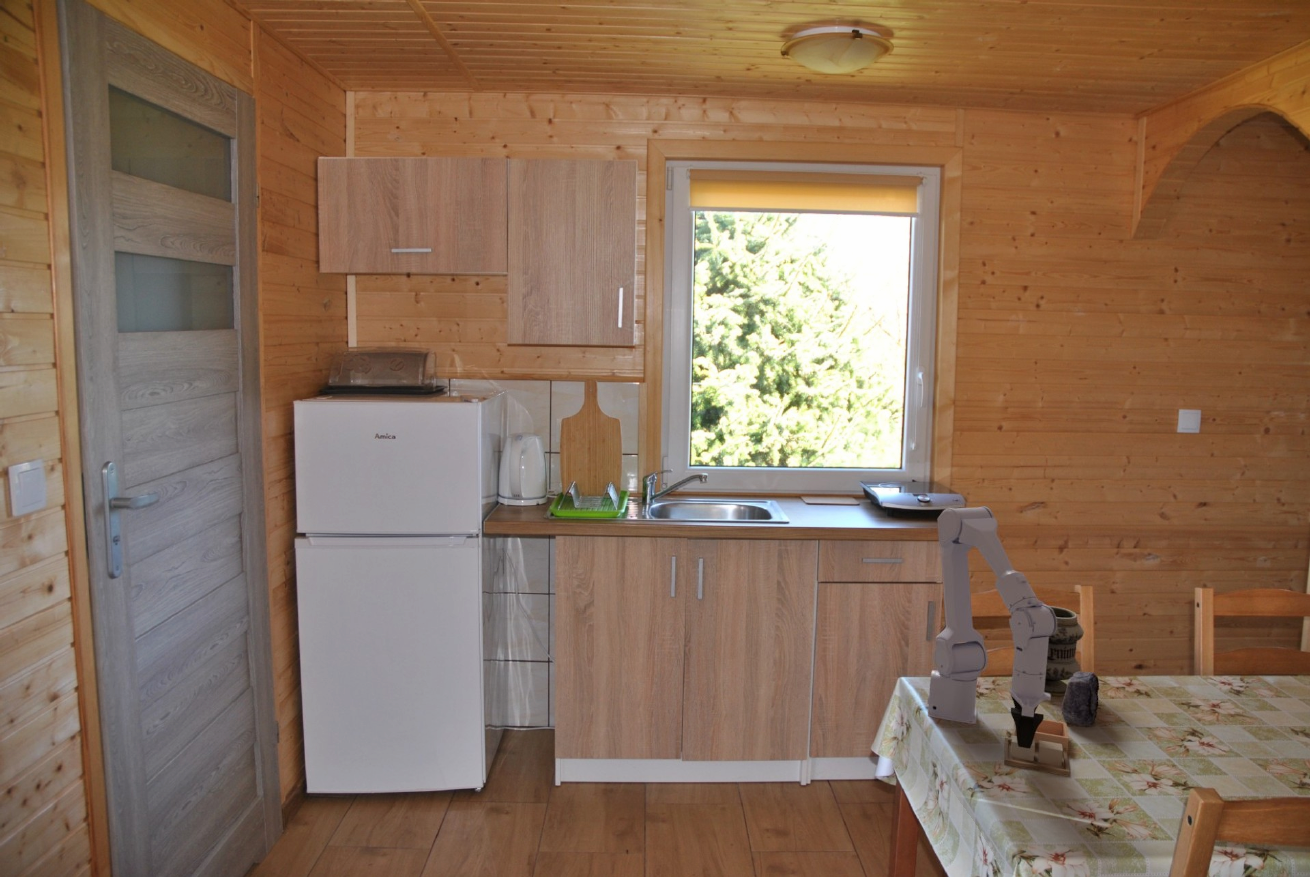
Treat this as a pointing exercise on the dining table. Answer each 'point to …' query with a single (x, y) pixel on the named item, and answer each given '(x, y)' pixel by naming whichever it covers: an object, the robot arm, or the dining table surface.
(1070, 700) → the rock
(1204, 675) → the dining table surface
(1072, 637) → the apothecary jar
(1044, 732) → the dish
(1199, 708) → the dining table surface
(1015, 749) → the stone grey
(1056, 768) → the tray
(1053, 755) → the stone beige
